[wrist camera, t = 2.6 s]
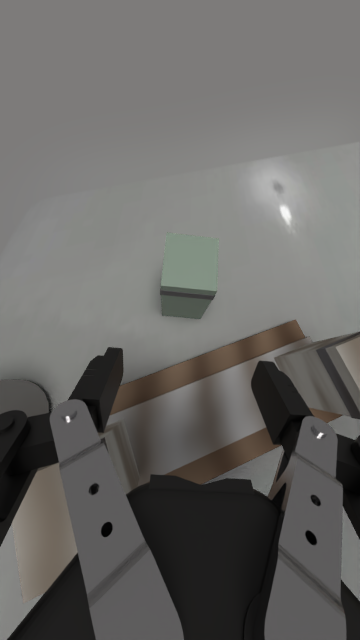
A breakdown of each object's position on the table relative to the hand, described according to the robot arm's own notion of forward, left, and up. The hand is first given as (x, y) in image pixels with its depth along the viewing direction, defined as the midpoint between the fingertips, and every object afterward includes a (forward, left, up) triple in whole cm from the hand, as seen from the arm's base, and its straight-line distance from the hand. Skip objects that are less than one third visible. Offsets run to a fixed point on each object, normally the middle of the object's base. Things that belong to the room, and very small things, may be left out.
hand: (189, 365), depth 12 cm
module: (-4, -9, -13) cm, 16 cm away
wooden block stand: (-2, +5, -13) cm, 14 cm away
